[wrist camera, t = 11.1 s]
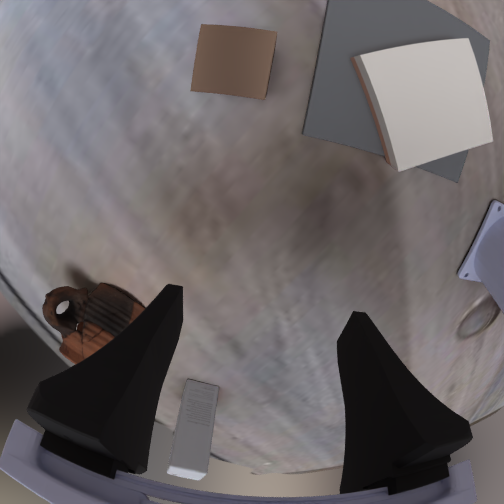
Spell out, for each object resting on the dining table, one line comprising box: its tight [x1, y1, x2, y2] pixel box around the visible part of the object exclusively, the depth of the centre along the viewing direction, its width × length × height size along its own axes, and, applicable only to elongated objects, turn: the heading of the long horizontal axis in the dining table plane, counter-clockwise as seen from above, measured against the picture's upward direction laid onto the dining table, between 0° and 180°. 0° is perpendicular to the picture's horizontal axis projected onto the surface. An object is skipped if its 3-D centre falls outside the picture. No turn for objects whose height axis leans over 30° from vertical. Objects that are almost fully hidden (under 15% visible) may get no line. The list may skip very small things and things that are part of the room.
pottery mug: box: [42, 283, 145, 364], centre depth 24 cm, size 12×10×8 cm
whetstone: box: [350, 38, 493, 172], centre depth 13 cm, size 8×2×7 cm
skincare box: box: [167, 379, 219, 480], centre depth 29 cm, size 6×4×12 cm
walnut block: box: [191, 24, 277, 100], centre depth 12 cm, size 3×3×6 cm
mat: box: [302, 0, 490, 183], centre depth 13 cm, size 12×12×1 cm
